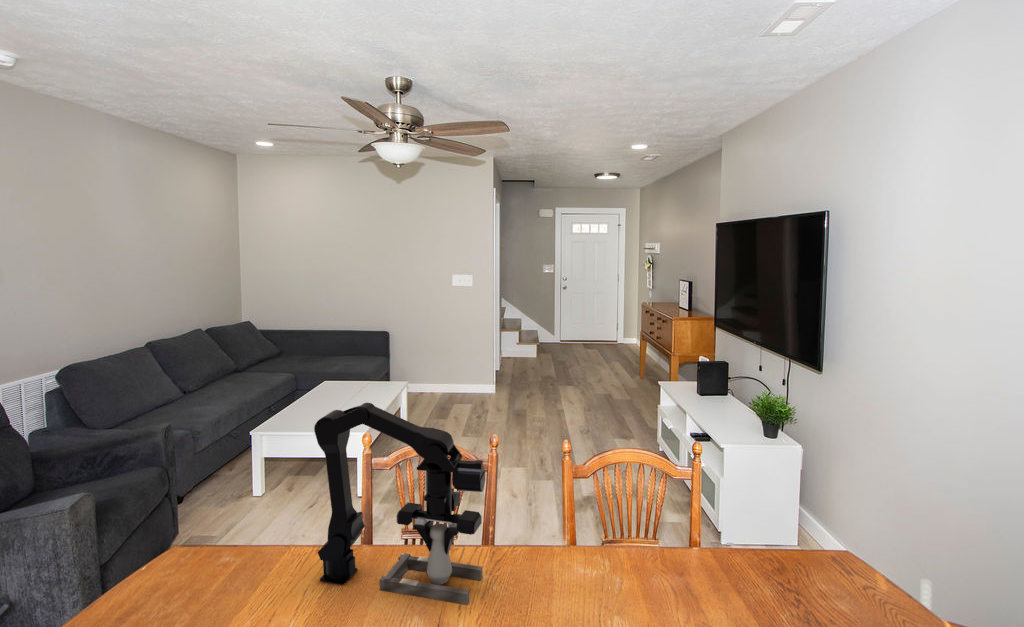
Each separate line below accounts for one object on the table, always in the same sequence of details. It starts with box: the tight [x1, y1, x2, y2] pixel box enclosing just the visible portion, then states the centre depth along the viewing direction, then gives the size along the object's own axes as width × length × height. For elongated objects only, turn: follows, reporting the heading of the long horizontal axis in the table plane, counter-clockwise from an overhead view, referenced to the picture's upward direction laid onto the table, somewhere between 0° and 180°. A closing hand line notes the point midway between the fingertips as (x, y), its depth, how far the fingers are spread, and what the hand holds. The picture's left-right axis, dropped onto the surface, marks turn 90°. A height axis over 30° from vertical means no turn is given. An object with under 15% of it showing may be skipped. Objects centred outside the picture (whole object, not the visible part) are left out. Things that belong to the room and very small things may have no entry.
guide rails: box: [378, 552, 483, 605], centre depth 133 cm, size 21×11×3 cm, turn 75°
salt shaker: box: [426, 523, 452, 586], centre depth 131 cm, size 6×6×13 cm
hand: (439, 553), depth 131 cm, fingers closed on salt shaker, 3 cm apart
